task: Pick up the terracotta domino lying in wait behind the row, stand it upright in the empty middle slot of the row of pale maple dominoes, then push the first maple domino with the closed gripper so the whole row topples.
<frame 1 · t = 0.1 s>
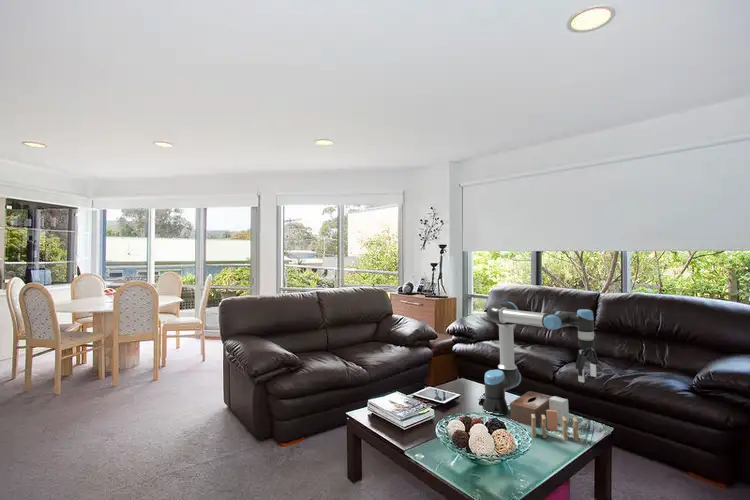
hand: (587, 379, 208), 28 cm above the table, tool pointing down, fingers open, 13 cm apart
tissue box cover: (532, 417, 229), on the table
domino 1: (534, 434, 206), on the table
terracotta domino: (552, 429, 212), on the table
domino 4: (576, 438, 201), on the table
small box: (559, 422, 221), on the table
domino 2: (544, 435, 205), on the table
domino 3: (565, 437, 202), on the table
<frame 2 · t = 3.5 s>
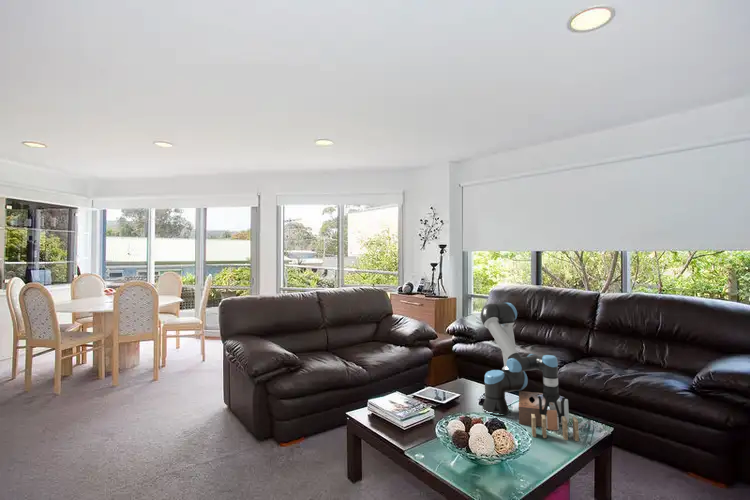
hand: (552, 427, 212), 1 cm above the table, tool pointing down, fingers closed on terracotta domino, 5 cm apart
terracotta domino: (552, 429, 212), on the table, touching gripper
when the fingers open (2 cm above the table, at t = 8.9 s): terracotta domino drops 1 cm, on the table.
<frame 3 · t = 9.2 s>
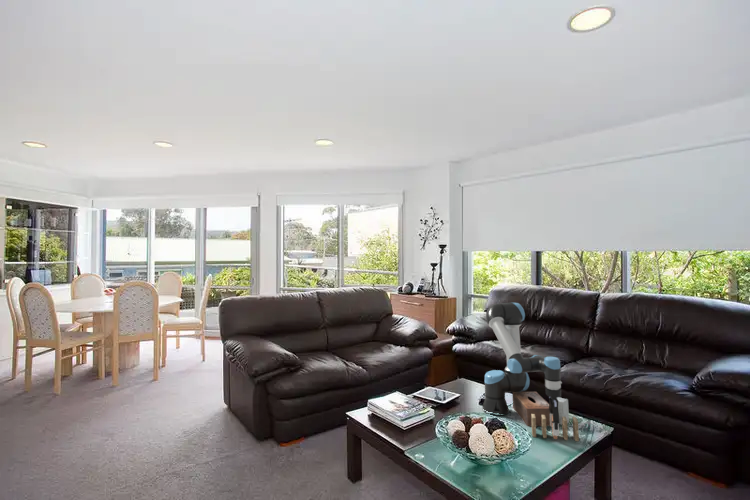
hand: (554, 430, 204), 3 cm above the table, tool pointing down, fingers open, 10 cm apart
terracotta domino: (554, 436, 204), on the table
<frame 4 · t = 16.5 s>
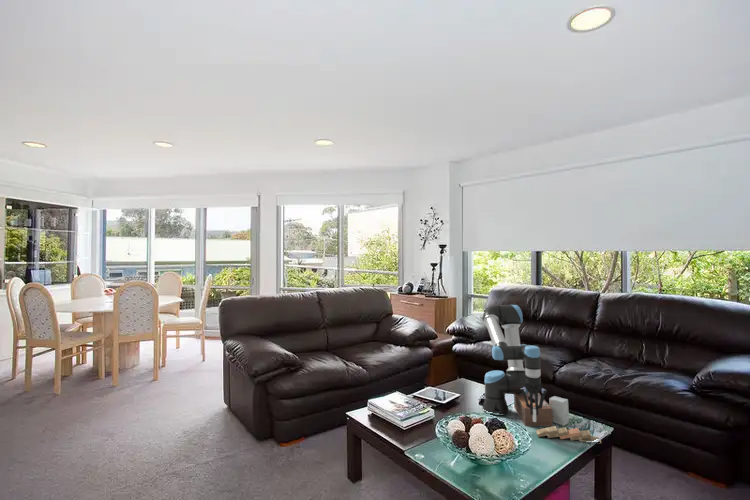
hand: (534, 420, 206), 7 cm above the table, tool pointing down, fingers closed
domino 1: (537, 433, 206), point 1 cm above the table, tilted 72°, touching domino 2
terracotta domino: (559, 435, 203), point 1 cm above the table, tilted 72°, touching domino 3
domino 4: (578, 438, 200), on the table, tilted 90°
domino 2: (547, 434, 205), point 1 cm above the table, tilted 72°, touching domino 1
domino 3: (569, 436, 202), point 1 cm above the table, tilted 75°, touching terracotta domino
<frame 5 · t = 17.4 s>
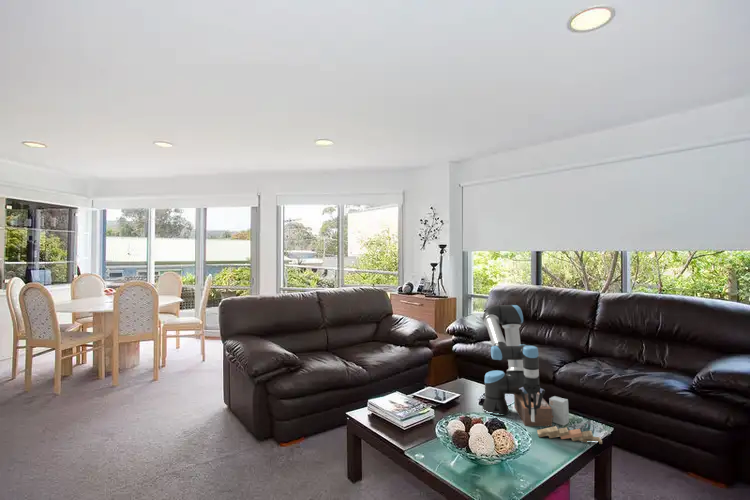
hand: (532, 420, 207), 7 cm above the table, tool pointing down, fingers closed
terracotta domino: (560, 435, 203), point 1 cm above the table, tilted 72°, touching domino 2, domino 3
domino 4: (579, 438, 200), on the table, tilted 90°, touching domino 3
domino 2: (548, 434, 205), point 1 cm above the table, tilted 72°, touching domino 1, terracotta domino
domino 3: (571, 437, 201), point 1 cm above the table, tilted 73°, touching domino 4, terracotta domino
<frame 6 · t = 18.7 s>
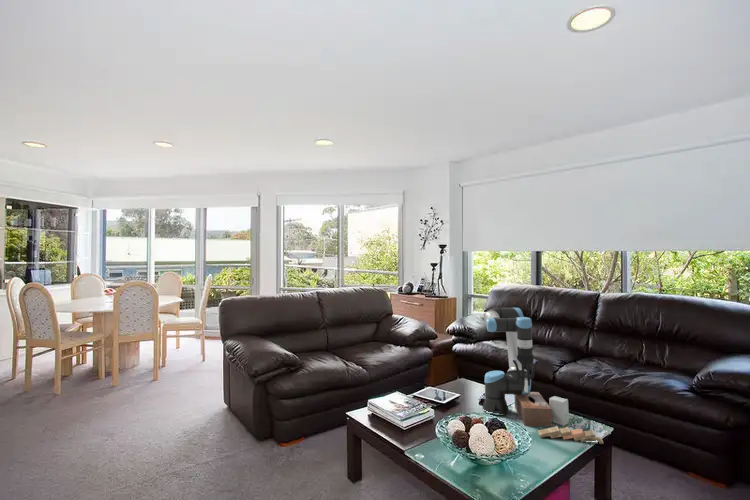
hand: (526, 391, 208), 22 cm above the table, tool pointing down, fingers closed
domino 1: (539, 434, 205), point 1 cm above the table, tilted 73°, touching domino 2
terracotta domino: (562, 435, 203), point 1 cm above the table, tilted 71°, touching domino 2
domino 4: (580, 438, 200), on the table, tilted 90°
domino 3: (573, 437, 201), point 1 cm above the table, tilted 71°
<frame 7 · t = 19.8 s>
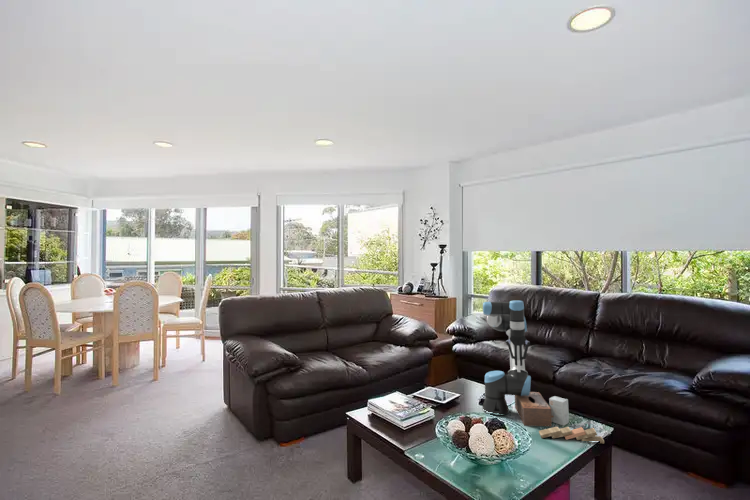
hand: (518, 371, 217), 30 cm above the table, tool pointing down, fingers closed
terracotta domino: (564, 436, 202), point 1 cm above the table, tilted 69°, touching domino 2, domino 3
domino 4: (580, 438, 200), on the table, tilted 89°, touching domino 3
domino 3: (575, 436, 201), point 1 cm above the table, tilted 69°, touching domino 4, terracotta domino
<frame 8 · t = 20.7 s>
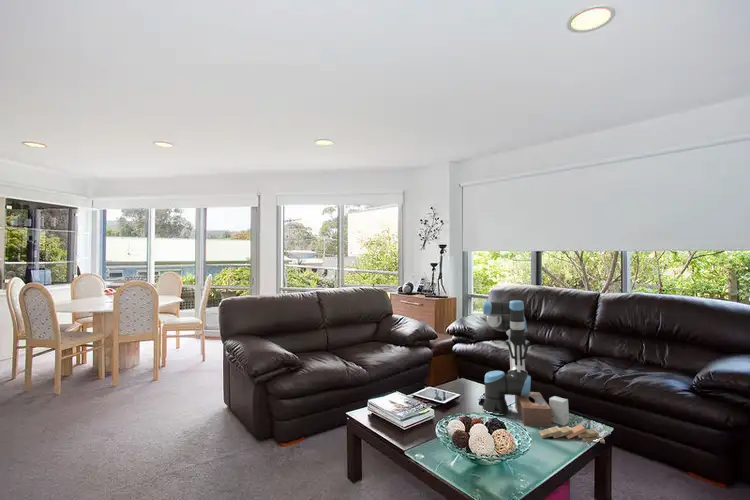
hand: (518, 371, 217), 30 cm above the table, tool pointing down, fingers closed
terracotta domino: (565, 435, 203), point 1 cm above the table, tilted 66°, touching domino 2
domino 4: (581, 438, 201), on the table, tilted 90°
domino 3: (576, 434, 202), point 2 cm above the table, tilted 82°
at the end: domino 4 tilted 90°; terracotta domino tilted 66°; terracotta domino moved 9.8 cm from its start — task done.
